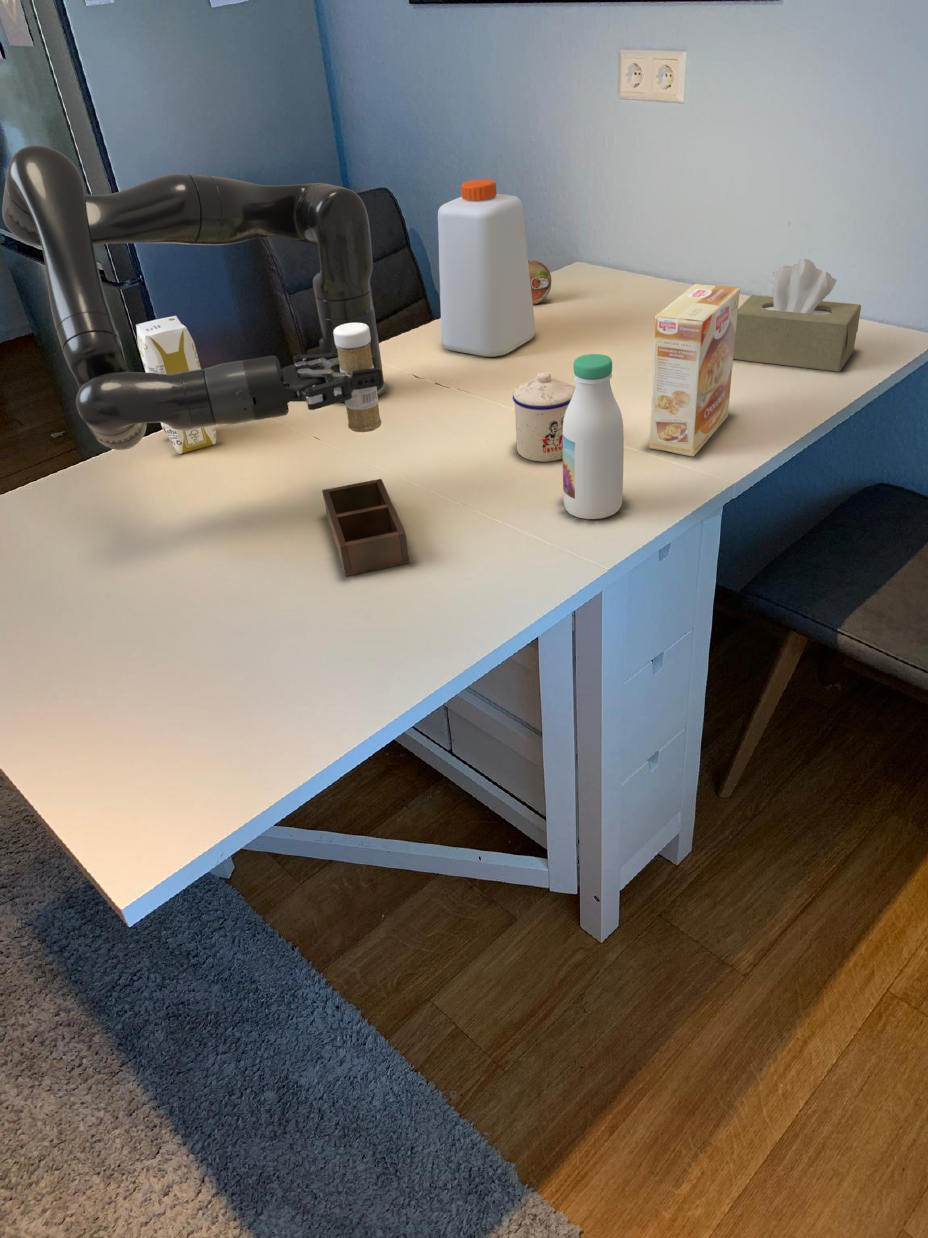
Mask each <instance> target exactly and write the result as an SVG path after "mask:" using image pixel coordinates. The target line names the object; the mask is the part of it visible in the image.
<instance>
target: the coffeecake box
mask: <svg viewBox="0 0 928 1238" xmlns="http://www.w3.org/2000/svg"><path fill="white" fill-rule="evenodd" d="M740 293H741V288H740V287H734V286H728V285H727V286H726V285H714V284H713V285H712V284H703V283H694V284H693V285H692V286H690V287H689V288H688V289H687V290H685V291H684V292H682V293H681V295H679V296H678V297H677V298H675V300H673V301H671V302H670V303H669V304H668V305H667V306H666V307H664V308H663V309H662V310H660V312H658V313H656V315H655V316H654V318H655V324H654V327H655V328H654V346H653V347H654V348H653V369H652V371H653V372H652V392H651V414H650V415H651V416H650V434H649V435H650V436H649V449H652V450H656V451H657V450H658V451H664V452H669V453H673V454H678V455H683V456H687V457H688V456H689V457H695V456H696V455H697V453H699V451H700V450H701V449H702V448H703V446H704V445H705V444H706V443H707V442H708V441H709V439H710V438H711V437H712V436H713V435H714V434H715V432H716V431H717V430H718V428H719V427H721V425H722V424H723V423H724V421H726V419H727V418H728V417H729V407H730V395H731V387H732V386H731V385H732V376H733V375H732V374H733V364H734V362H733V361H734V359H733V354H734V344H735V334H736V324H737V314H738V309H739V304H740V303H739V301H740Z"/></svg>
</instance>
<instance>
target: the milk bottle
mask: <svg viewBox="0 0 928 1238" xmlns="http://www.w3.org/2000/svg"><path fill="white" fill-rule="evenodd" d="M612 373H613V360H612V358H611V357H610V356H608V355H606V354H601V353H589V354H583V355H580V356H578V357H576V359H574V361H573V379H574V381H575V386H574V388H575V390H574V393H573V396H572V399H571V401H570V403H569V405H568V407H567V410H566V413H565V416H564V421H563V436H562V451H563V459H562V498H563V506H564V509H565V510H566V512H567V513H569V514H570V515H571V516H574V517H576V518H580V519H586V520H598V519H599V520H600V519H606V518H608V517H611V516H613V515H615V514H616V513H618V512H619V511H620V509H621V507H622V505H623V495H624V452H625V451H624V446H625V445H624V444H625V443H624V440H625V438H624V437H625V435H624V419H623V415H622V411H621V408H620V405H619V403H618V401H617V399H616V398H615V395H614V393H613V389H612V385H611V379H612V378H613V374H612Z"/></svg>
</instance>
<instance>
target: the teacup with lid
mask: <svg viewBox="0 0 928 1238" xmlns="http://www.w3.org/2000/svg"><path fill="white" fill-rule="evenodd" d="M574 390H575V386H574V385H573V384H572V383H570V382H568V381H566V380H562V379H557V378H554V377H552V374H551V373H550V372H549V371H541V372H538V373H537V374H536V378H534V379H532V380H529V381H526V382H524V383H521V384H520V385H518V386H517V387H516V388H515V389H514V391H513V394H512V401H513V403H514V414H515V415H514V417H515V436H516V437H515V438H516V439H515V440H516V451H517V453H518V455H520V456H521V457H522V458H524V459H526V460H529V461H533V462H542V463H544V462H546V463H547V462H555V461H559V460H563V451H562V436H563V421H564V416H565V413H566V410H567V407H568V405H569V403H570V401H571V399H572V396H573V393H574Z"/></svg>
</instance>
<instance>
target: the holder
mask: <svg viewBox="0 0 928 1238" xmlns="http://www.w3.org/2000/svg"><path fill="white" fill-rule="evenodd" d="M321 492H322V497H323V503H324V509H325V514H326V518H327V522H328V525H329V529H330V532H331V535H332V537H333V541H334V545H335V547H336V551H337V553H338V557H339V560H340V564H341V566H342V569H343V573H344V576H345V577H349V576H354V575H358V574H364V573H367V572H368V573H369V572H373V571H378V570H382V569H387V568H392V567H396V566H400V565H401V566H402V565H406V564H409V563H410V562H411V561H410V556H409V555H410V554H409V547H408V541H407V533H406V531H405V528H404V526H403V524H402V522H401V520H400V517H399V515H398V513H397V511H396V508H395V506H394V504H393V501H392V500H391V497H390V495H389V493H388V490H387V487H386V486H385V484H384V481H383V479H382V478H378V479H377V478H376V479H372V480H367V481H366V480H365V481H361V482H356V483H352V484H351V483H350V484H346V485H341V486H335V487H331V488H326V489H322V490H321Z"/></svg>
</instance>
